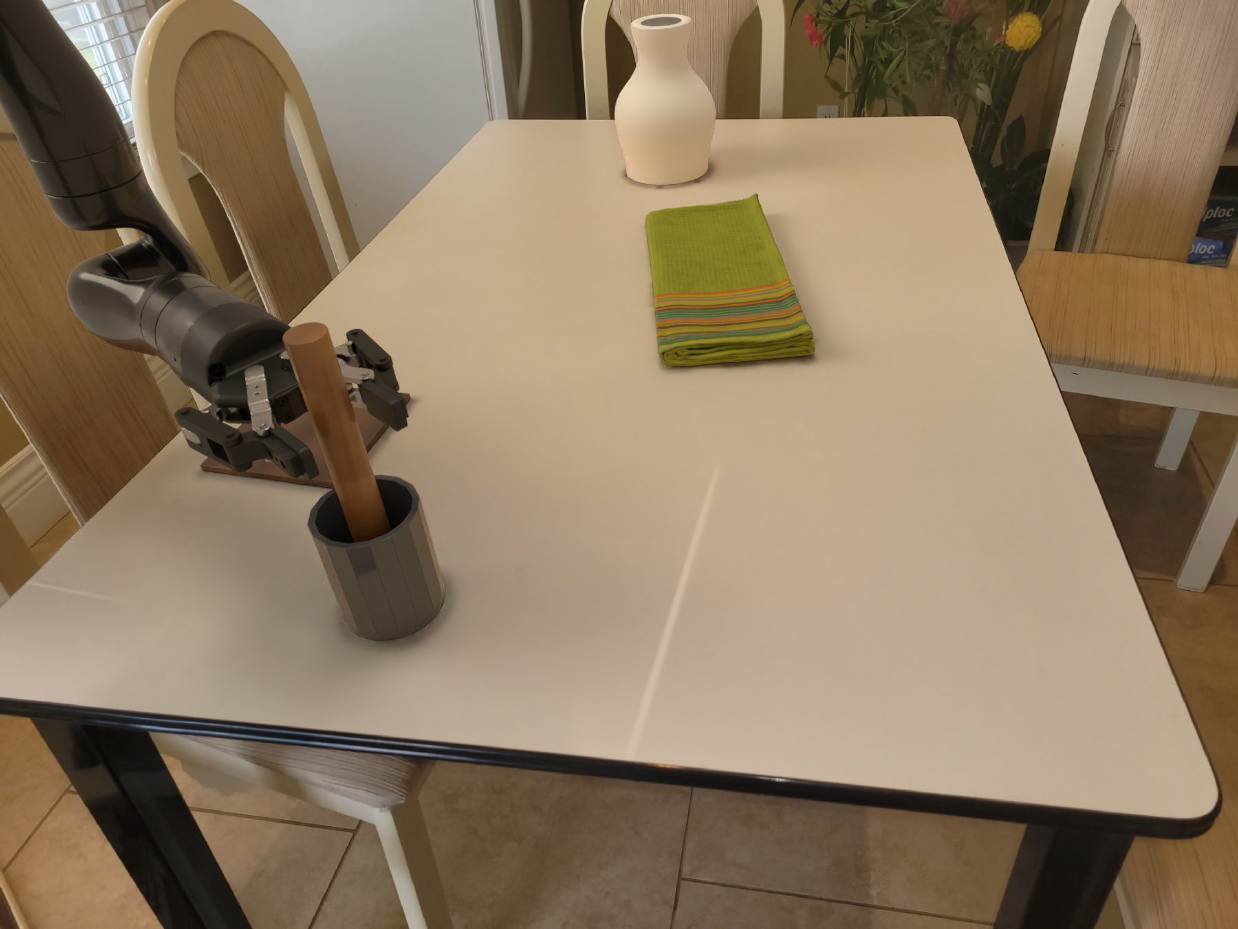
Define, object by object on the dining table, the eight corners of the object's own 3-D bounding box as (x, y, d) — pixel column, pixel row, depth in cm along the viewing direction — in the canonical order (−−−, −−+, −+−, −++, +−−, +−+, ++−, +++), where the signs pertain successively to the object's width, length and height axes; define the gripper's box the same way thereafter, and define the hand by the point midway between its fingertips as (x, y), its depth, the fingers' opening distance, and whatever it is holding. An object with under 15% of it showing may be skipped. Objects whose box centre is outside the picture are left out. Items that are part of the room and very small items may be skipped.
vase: (696, 146, 137) (694, 2, 124) (730, 177, 126) (731, 23, 113) (607, 161, 134) (595, 16, 122) (633, 194, 123) (623, 39, 111)
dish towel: (660, 371, 87) (658, 342, 85) (643, 223, 115) (641, 199, 113) (817, 359, 87) (819, 330, 85) (761, 213, 115) (762, 189, 113)
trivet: (201, 470, 80) (199, 465, 80) (287, 385, 90) (285, 380, 90) (338, 489, 76) (336, 483, 76) (411, 398, 87) (409, 393, 86)
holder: (324, 631, 64) (286, 539, 58) (373, 559, 69) (343, 469, 64) (417, 648, 62) (387, 555, 56) (460, 573, 67) (437, 481, 62)
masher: (347, 615, 64) (245, 351, 50) (378, 568, 67) (291, 310, 54) (407, 625, 63) (319, 358, 49) (436, 577, 66) (361, 315, 53)
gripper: (109, 347, 58) (225, 447, 48) (305, 267, 65) (441, 339, 56) (154, 440, 62) (269, 548, 53) (333, 354, 70) (462, 435, 60)
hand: (357, 440), depth 54 cm, fingers open, 5 cm apart
